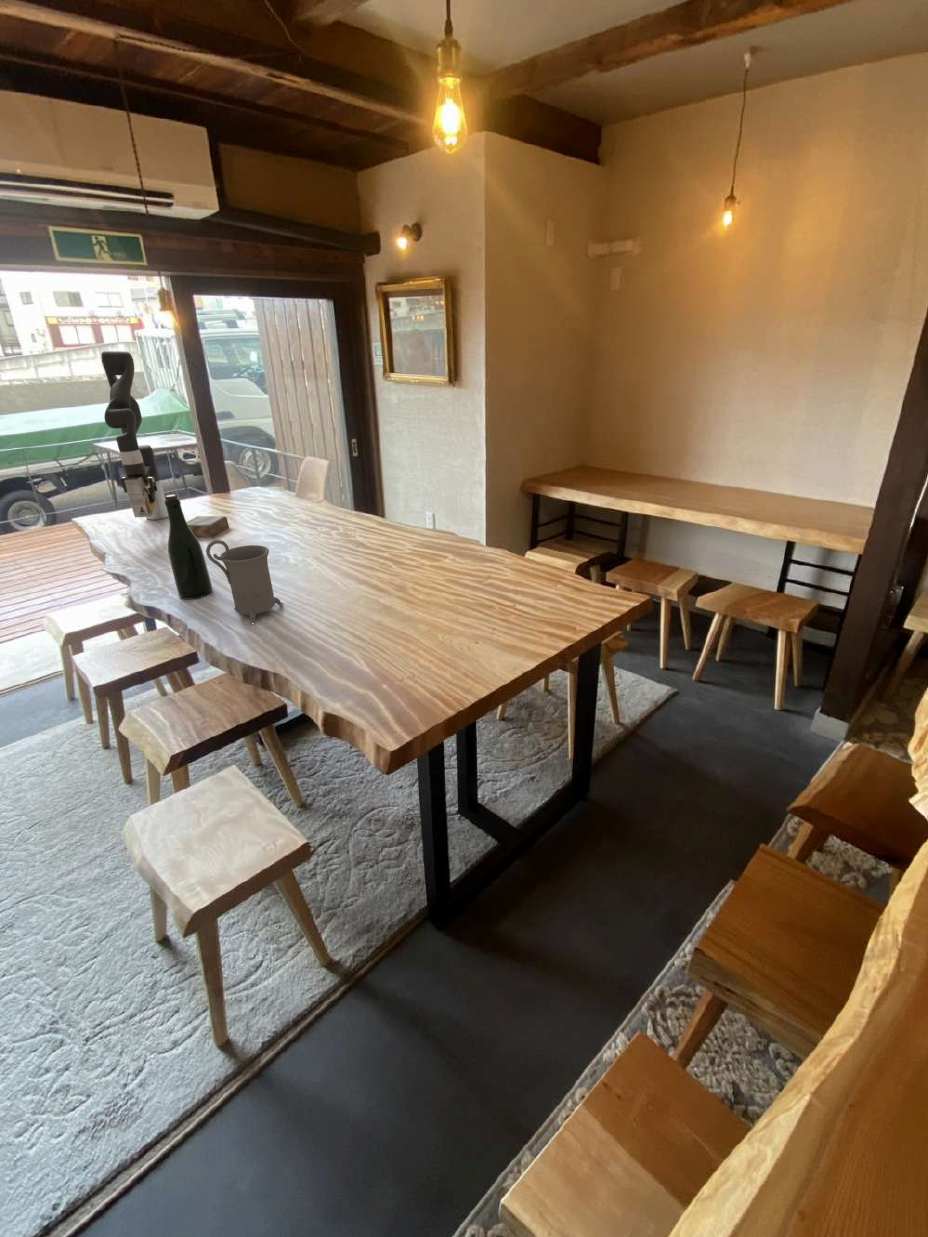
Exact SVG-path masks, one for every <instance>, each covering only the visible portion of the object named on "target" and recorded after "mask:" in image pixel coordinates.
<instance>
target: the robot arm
mask: <svg viewBox="0 0 928 1237" xmlns="http://www.w3.org/2000/svg"><path fill="white" fill-rule="evenodd" d="M101 362H102V363H101V364H102V366H103V369H104V373H105V376H106V378H107V382H108V385H109V388H110V391H109V403H108V405H107V407H106V409H105V412H104V416H103V417H104V422H105V424H106V425H107V427H109V428H110V429H114V430H116V429H118V430H119V429H121V433H122V434H119V435H117V436H116V437H115V439H116V444H117V448H118V451H119V454H120V455H119V456H120V460H121V464H122V467H123V471H124V474H125V475H126V476H123V477H120V479H119V480H120V483H121V485H122V488H123V491H124V493H127V489H126V486H125V483H124V480H123V479H124V478H126V477H128V476H142V477H143V480H144V482H145V483H146V482H147V481H148V483H149V484H150V485H149V484H148V486H146V487H145V489H146V491H147V493H148V498H149V501H150V503H154V502H155V498H154V494H153V493H154V492H155V495H156V498H157V502H158V505H159V509H160V511H158V512H157V513H155V514H153V515H152V516H150V517H145V519H146V520H147V519H148V520H152V521H153V520H163V519H165V518H169V517H168V513H167V508H166V506H165V500H166V499H165V494H164V490H163V486H162V482H161V479H160V475H159V471H158V468H157V467H158V466H157V464H156V458H155V453H154V450H153V448H152V446H150V445H149V444H143V445H139V442H138V440H137V433H138V431H139V429H140V427H141V425H142V421H143V417H142V412H141V409H140V404H139V403H138V402H137V400H136V398H134V397H133V395H132V394H131V392H132V385H133V381H134V377H135V362H134V358H133V356H132V354H131V353H130V352H129V351H126V350H125V351H124V350H102V352H101ZM118 376H120V377H119V378H118ZM146 467H147V469H146ZM146 473H150V477H147V475H146ZM148 488H149V490H148ZM127 494H128V493H127Z"/></svg>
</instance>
